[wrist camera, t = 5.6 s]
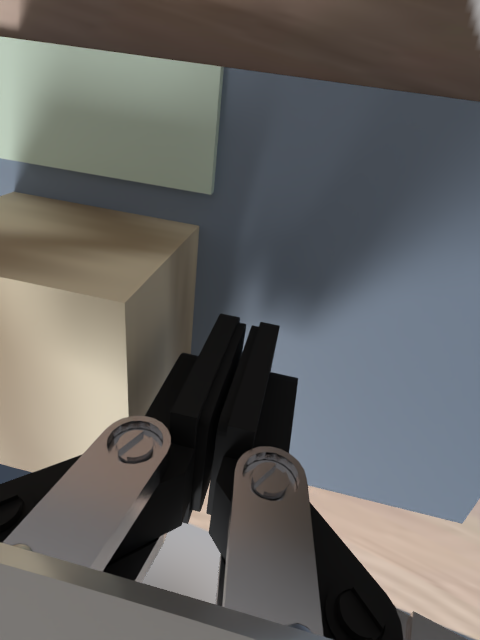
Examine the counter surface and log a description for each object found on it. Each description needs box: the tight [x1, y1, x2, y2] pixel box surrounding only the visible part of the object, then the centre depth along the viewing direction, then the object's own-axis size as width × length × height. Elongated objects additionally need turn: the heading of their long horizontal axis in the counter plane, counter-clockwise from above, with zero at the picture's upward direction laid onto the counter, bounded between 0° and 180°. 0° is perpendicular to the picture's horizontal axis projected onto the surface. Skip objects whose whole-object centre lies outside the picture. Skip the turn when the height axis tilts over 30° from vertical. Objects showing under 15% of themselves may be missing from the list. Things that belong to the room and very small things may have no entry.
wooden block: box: [0, 192, 199, 472], centre depth 12 cm, size 6×6×5 cm
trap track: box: [0, 37, 480, 523], centre depth 14 cm, size 30×14×2 cm, turn 83°
